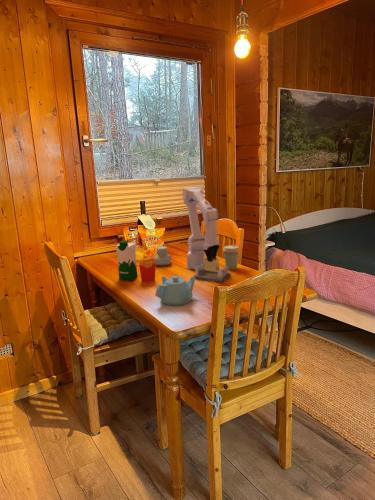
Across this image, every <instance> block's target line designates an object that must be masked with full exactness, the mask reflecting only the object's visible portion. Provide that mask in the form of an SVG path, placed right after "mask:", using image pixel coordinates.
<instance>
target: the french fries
mask: <svg viewBox="0 0 375 500" xmlns="http://www.w3.org/2000/svg"><path fill="white" fill-rule="evenodd" d="M138 261H139V264H138V267H139V268H138V269H139V273H140V278H141V279H140V280H141V282H142V283H145V284H146V283H151V282H155V281H156V266H157V264H156V263H155V262H156V258H155V256H146V257H143V258H140V259H138Z"/></svg>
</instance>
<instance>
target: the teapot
mask: <svg viewBox="0 0 375 500" xmlns="http://www.w3.org/2000/svg"><path fill="white" fill-rule="evenodd" d="M195 280H196V279H195V277H193V276H190V279H189V280H188V281H187V280H186V279H184V278H182V277H179V276H177V275H176V276H175V275H174V276H172V277H171V278H167V277H166V276H161V281H162V284H157V287H156V290H155V293H154V296H155V297H157V298H158V299H160V300H161V302H162V303H163V304H165V305H167V306H171V305H172V306H176V307H177V306H183V305H186V304H188V303H189V302H190V301H191V300H192V299H193V290H194V286H195V285H194V284H195V282H196V281H195Z"/></svg>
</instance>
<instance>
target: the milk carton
mask: <svg viewBox="0 0 375 500" xmlns="http://www.w3.org/2000/svg"><path fill="white" fill-rule="evenodd" d="M136 247H137V243H136V242H128V240H120V241H119V244H117V245H116V246H115V251H116V255H117V256H116V257H117V265H118V266H117V267H118V280H119V281H124V282H125V281H127V282H132V281H134V280H135V279H136V278H138V269H137V255H136Z"/></svg>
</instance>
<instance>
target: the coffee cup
mask: <svg viewBox="0 0 375 500" xmlns="http://www.w3.org/2000/svg"><path fill="white" fill-rule="evenodd" d="M222 251H223V256H224V263H225V265H224V266H227V267H228V271H235V270H237V267H238V260H239V252H240V248H239V246H238V245H233V244H230V245H225V246H224V247H223V249H222Z"/></svg>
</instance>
